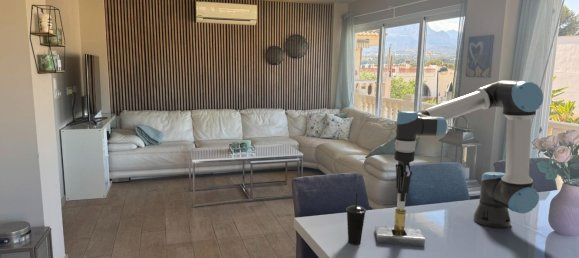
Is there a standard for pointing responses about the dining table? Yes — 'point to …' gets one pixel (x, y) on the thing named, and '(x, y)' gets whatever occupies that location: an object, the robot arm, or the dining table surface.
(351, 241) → the black tumbler with straw
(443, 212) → the dining table surface
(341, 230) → the dining table surface
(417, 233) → the jig
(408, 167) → the robot arm
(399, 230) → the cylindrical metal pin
